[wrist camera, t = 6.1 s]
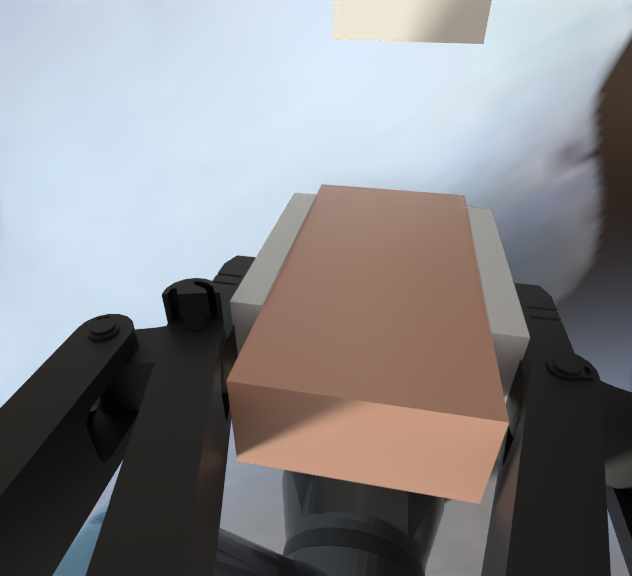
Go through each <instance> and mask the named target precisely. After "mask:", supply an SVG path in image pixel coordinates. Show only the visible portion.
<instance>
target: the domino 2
mask: <svg viewBox="0 0 632 576" xmlns="http://www.w3.org/2000/svg"><path fill="white" fill-rule="evenodd" d="M226 382H227V389H228V397H229V404H230V411H231V418H232V425H233V432H234V440H235V447H236V454H237V461H238V462H243V463H249V464H255V465H260V466H266V467H272V468H278V469H283V470H289V471H295V472H300V473H306V474H312V475H318V476H323V477H329V478H335V479H340V480H346V481H352V482H358V483H363V484H369V485H375V486H381V487H386V488H392V489H398V490H403V491H409V492H415V493H421V494H426V495H432V496H438V497H444V498H449V499H455V500H461V501H466V502H472V503H478V504H480V502H481V499H482V497H483V494H484V491H485V488H486V486H487V483H488V480H489V477H490V474H491V472H492V469H493V466H494V463H495V461H496V458H497V455H498V452H499V449H500V447H501V444H502V441H503V438H504V436H505V433H506V430H507V427H508V425H509V419H508V414H507V409H506V404H505V399H504V394H503V389H502V384H501V379H500V374H499V369H498V364H497V358H496V353H495V348H494V343H493V338H492V337H491V335H490V330H489V325H488V320H487V315H486V309H485V304H484V299H483V294H482V288H481V283H480V278H479V273H478V268H477V262H476V257H475V252H474V247H473V241H472V236H471V231H470V226H469V221H468V215H467V207H466V202H465V197H464V196H463V195H450V194H437V193H424V192H411V191H398V190H386V189H373V188H360V187H347V186H334V185H321V187H320V189H319V191H318V193H317V195H316V199H315V201H314V203H313V205H312V207H311V209H310V211H309V214H308V216H307V218H306V220H305V222H304V224H303V226H302V228H301V230H300V232H299V234H298V236H297V238H296V240H295V242H294V245H293V247H292V249H291V251H290V253H289V255H288V257H287V259H286V261H285V263H284V265H283V267H282V269H281V271H280V273H279V276H278V278H277V280H276V282H275V284H274V286H273V288H272V290H271V292H270V294H269V296H268V298H267V300H266V302H265V304H264V306H263V309H261V311H260V313H259V315H258V317H257V319H256V321H255V323H254V325H253V327H252V329H251V331H250V333H249V335H248V337H247V339H246V341H245V343H244V345H243V348H242V350H241V352H240V354H239V356H238V358H237V360H236V362H235V364H234V366H233V368H232V370H231V372H230V374H229V376H228V378H227V380H226Z"/></svg>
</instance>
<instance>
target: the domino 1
mask: <svg viewBox="0 0 632 576" xmlns="http://www.w3.org/2000/svg"><path fill="white" fill-rule="evenodd" d="M490 5H491V0H334V3H333V40H368V41H402V42H437V43H471V44H483V43H484V38H485V32H486V27H487V21H488V16H489V11H490Z"/></svg>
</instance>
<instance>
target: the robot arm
mask: <svg viewBox="0 0 632 576" xmlns="http://www.w3.org/2000/svg"><path fill="white" fill-rule="evenodd" d="M315 199H316V195H314V194H302V193H294V195H293V196H292V198H291V200H290V201H289V203H288V205H287V206H286V208H285V210H284V212H283V213H282V215H281V217H280V218H279V220H278V222H277V223H276V225H275V227H274V228H273V230H272V232H271V233H270V235H269V237H268V238H267V240H266V242H265V243H264V245H263V247H262V248H261V250H260V252H259V253H258V255H257V257H247V256H236V257H234V258H232V259H231V260H229V261H228V262H226V263H225V264H224V265H223V267H222V268H221V269H220V271H219V272H218V275H216V277H215V278H214V279H213V281H210V280H207V279H201V278H192V279H184V280H181V281H179V282H176V283H173V284H172V285H170V286H169V287H167V288H166V289H165V291H164V292H163V293H162V298H163V303H164V307H165V312H166V316H167V321H168V324H167V326H163V327H157V328H147V329H136V330H135V328H134V325H133V321H132V320H131V319H130V318H129V317H127V316H124V315H120V314H106V315H101V316H97V317H95V318H93V319H90V320H88V321H86V322H85V323H84V324H82V325H81V326H80V327H78V328H77V329H76V330H75V331H74V332H73V333H72V334H71V336H70V337H69V338H68V339H67V340H66V341H65V342H64V343H63V344H62V345H61V346H60V347H59V348H58V349H57V350H56V351H55V352H54V353H53V354H52V355H51V356H50V357H49V358H48V359H47V360H46V361H45V362H44V363H43V365H42V366H41V367H40V368H39V369H38V370H37V371H36V372H35V373H34V374H33V375H32V376H31V377H30V378H29V379H28V380H27V381H26V382H25V383H24V384H23V385H22V386H21V387H20V388H19V389H18V390H17V391H16V392H15V393H14V395H13V396H12V397H11V398H10V399H9V400H8V401H7V402H6V403H5V404H4V405H3V406H2V407H1V408H0V576H425V568H426V564H427V561H428V558H429V555H430V552H431V548H432V545H433V542H434V539H435V536H436V533H437V530H438V527H439V524H440V521H441V517H442V514H443V510H444V503H445V498H444V497H438V496H432V495H426V494H421V493H415V492H409V491H403V490H398V489H392V488H386V487H381V486H375V485H369V484H363V483H358V482H352V481H346V480H340V479H335V478H329V477H323V476H318V475H312V474H306V473H300V472H295V471H289V470H284V472H283V480H282V485H283V500H284V516H285V531H286V543H285V547H284V551H283V556H282V555H280V554H277V553H275V552H274V551H272V550H269V549H267V548H265V547H262V546H260V545H258V544H256V543H253V542H251V541H249V540H246V539H244V538H242V537H240V536H237V535H235V534H233V533H230V532H228V531H226V530H224V529H221V528H219V527H220V518H221V509H222V500H223V491H224V482H225V473H226V464H227V454H228V445H229V436H230V427H231V411H230V404H229V397H228V389H227V382H226V380H227V378H228V376H229V374H230V372H231V370H232V368H233V366H234V364H235V362H236V360H237V358H238V356H239V354H240V352H241V350H242V348H243V345H244V343H245V341H246V339H247V337H248V335H249V333H250V331H251V329H252V327H253V325H254V323H255V321H256V319H257V317H258V315H259V313H260V311H261V309H263V306H264V304H265V302H266V300H267V298H268V296H269V294H270V292H271V290H272V288H273V286H274V284H275V282H276V280H277V278H278V276H279V273H280V271H281V269H282V267H283V265H284V263H285V261H286V259H287V257H288V255H289V253H290V251H291V249H292V247H293V245H294V242H295V240H296V238H297V236H298V234H299V232H300V230H301V228H302V226H303V224H304V222H305V220H306V218H307V216H308V214H309V211H310V209H311V207H312V205H313V203H314V201H315ZM467 215H468V221H469V226H470V231H471V236H472V241H473V247H474V252H475V257H476V262H477V268H478V273H479V278H480V283H481V288H482V294H483V299H484V304H485V309H486V315H487V320H488V325H489V330H490V335H491V337H492V338H493V343H494V348H495V353H496V358H497V364H498V369H499V374H500V379H501V384H502V389H503V394H504V399H505V404H506V409H507V414H508V419H509V425H508V428H507V431H506V434H505V436H504V439H503V442H502V445H501V447H500V450H499V453H498V456H497V459H496V460H499V461H500V464H499V470H498V476H497V482H496V488H495V494H494V500H493V507H492V513H491V519H490V525H489V531H488V537H487V543H486V549H485V555H484V561H483V568H482V574H481V576H611V572H610V552H609V533H608V516H607V509H608V512H609V515H610V518H611V520H612V524H613V527H614V530H615V533H616V535H617V539H618V542H619V545H620V548H621V551H622V554H623V556H624V559H625V562H626V565H627V568H628V571H629V574H630V576H632V392H629V391H625V390H623V389H620V388H617V387H614V386H612V385H609V384H607V383H604V382H602V381H601V380H600V378H599V374H598V372H597V370H596V369H595V368H594V367H593V366H592V364H591V363H590V362H588V361H587V360H585V359H584V358H582V357H580V356H579V355H576V354H575V353H574V351H573V348H572V346H571V343H570V341H569V338H568V336H567V333H566V331H565V329H564V326H563V324H562V322H560V320H561V319H560V317H559V314H558V312H556V310H557V309H556V307H555V304H554V302H553V299H552V297H551V296H550V295H549V294H548V293H547V292H546V291H544V290H543V289H542V288H541V287H540V286H537V285H528V284H518V283H514V282H513V279H512V276H511V272H510V269H509V266H508V262H507V259H506V256H505V252H504V249H503V246H502V243H501V239H500V236H499V233H498V229H497V226H496V223H495V219H494V216H493V213H492V209H486V208H474V207H467ZM122 460H123V462H122ZM121 462H122V465H121V468H120V471H119V474H118V477H117V480H116V483H115V486H114V490H113V493H112V496H111V499H110V501H109V502H107V503H106V504H105V505H104V506H102V507H101V508H100V509H99V510H98V511H97V512H96V513H95V514H94V515H93V517H92V518H91V519H90V520H89V521H88V522H87V523H86V525H85V526H84V527H83V528H82V526H83V525H84V523H85V521H86V520H87V518H88V516H89V515H90V513H91V511H92V510H93V508H94V506H95V505H96V503H97V501H98V500H99V498H100V497H101V495H102V493H103V492H104V490H105V488H106V487H107V485H108V483H109V482H110V480H111V478H112V477H113V475H114V473H115V472H116V470H117V469H118V467H119V465H120V464H121ZM81 528H82V529H81ZM80 529H81V531H80ZM79 531H80V532H79Z"/></svg>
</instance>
